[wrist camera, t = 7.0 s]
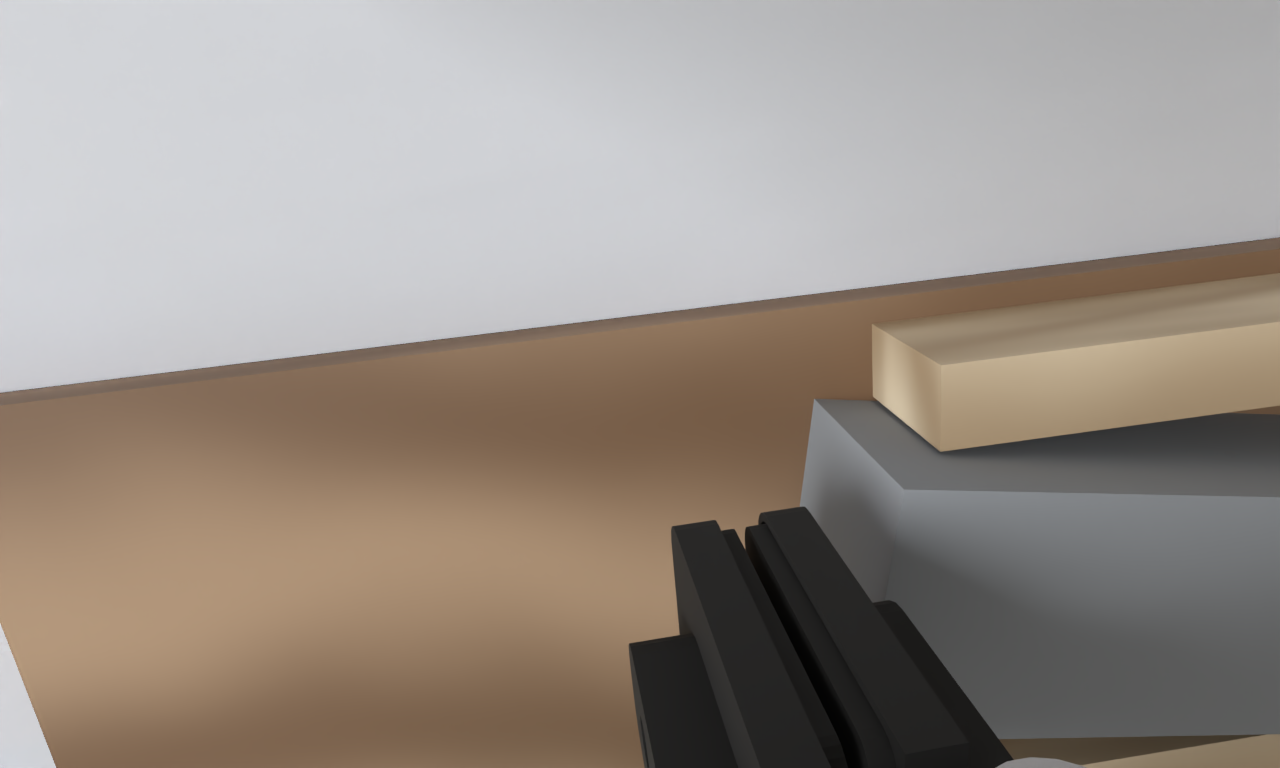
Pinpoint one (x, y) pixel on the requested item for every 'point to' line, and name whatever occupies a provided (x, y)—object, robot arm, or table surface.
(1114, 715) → the grey rectangular block
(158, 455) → the comb board
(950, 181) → the table surface
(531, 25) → the table surface
